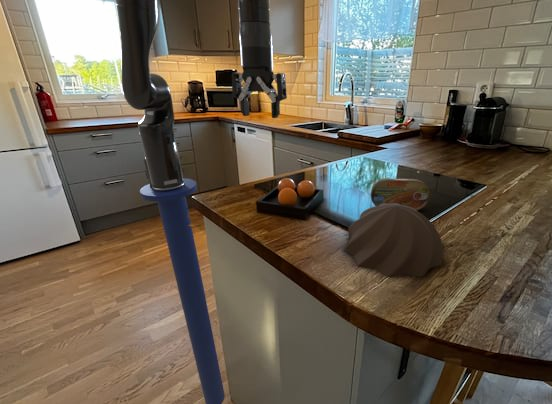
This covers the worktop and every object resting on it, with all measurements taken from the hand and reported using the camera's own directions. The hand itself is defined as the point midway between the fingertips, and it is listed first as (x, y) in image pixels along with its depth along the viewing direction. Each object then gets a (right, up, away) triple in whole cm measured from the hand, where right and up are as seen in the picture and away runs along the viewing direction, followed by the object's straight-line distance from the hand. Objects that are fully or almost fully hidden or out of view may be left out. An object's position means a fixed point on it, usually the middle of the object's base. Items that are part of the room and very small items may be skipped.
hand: (260, 116), depth 77 cm
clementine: (+5, -22, +3) cm, 23 cm away
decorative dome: (+30, -32, -14) cm, 46 cm away
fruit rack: (+8, -23, +6) cm, 25 cm away
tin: (+37, -24, +4) cm, 44 cm away
